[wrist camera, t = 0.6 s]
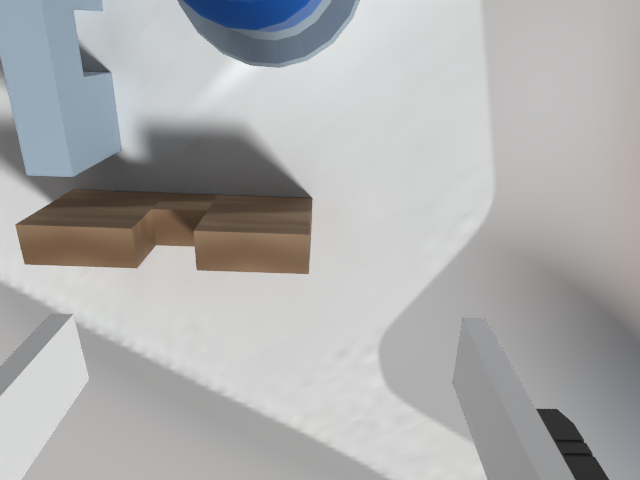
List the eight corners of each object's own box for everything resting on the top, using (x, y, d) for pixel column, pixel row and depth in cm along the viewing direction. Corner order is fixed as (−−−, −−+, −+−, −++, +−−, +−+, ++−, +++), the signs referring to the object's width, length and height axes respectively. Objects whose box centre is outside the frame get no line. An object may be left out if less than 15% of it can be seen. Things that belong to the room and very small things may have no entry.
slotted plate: (44, -89, 31) (-41, -128, 24) (89, -87, 31) (18, -125, 24) (84, 148, 38) (26, 175, 30) (121, 149, 38) (72, 176, 30)
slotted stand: (73, 189, 39) (15, 224, 32) (312, 198, 39) (309, 234, 32) (79, 223, 40) (24, 264, 33) (311, 230, 40) (308, 274, 33)
